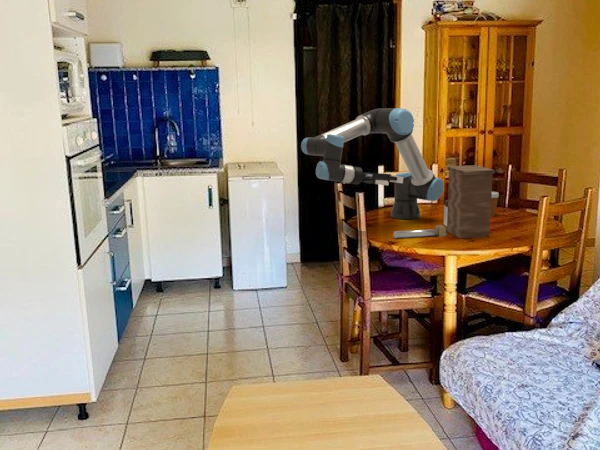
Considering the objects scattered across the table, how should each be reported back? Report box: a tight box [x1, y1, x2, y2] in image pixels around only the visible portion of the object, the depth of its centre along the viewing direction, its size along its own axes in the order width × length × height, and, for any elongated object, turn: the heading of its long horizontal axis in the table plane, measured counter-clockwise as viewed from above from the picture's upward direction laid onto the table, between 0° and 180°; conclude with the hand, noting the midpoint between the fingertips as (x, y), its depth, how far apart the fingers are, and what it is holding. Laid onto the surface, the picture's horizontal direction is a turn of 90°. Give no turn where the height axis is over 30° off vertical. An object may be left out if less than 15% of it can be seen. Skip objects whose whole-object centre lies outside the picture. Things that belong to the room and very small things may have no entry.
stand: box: [446, 164, 496, 239], centre depth 269 cm, size 18×14×30 cm
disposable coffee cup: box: [490, 191, 500, 218], centre depth 309 cm, size 10×10×12 cm
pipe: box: [393, 224, 448, 239], centre depth 268 cm, size 4×24×4 cm, turn 99°
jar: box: [443, 199, 448, 227], centre depth 289 cm, size 9×8×12 cm
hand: (395, 181), depth 263 cm, fingers open, 13 cm apart
